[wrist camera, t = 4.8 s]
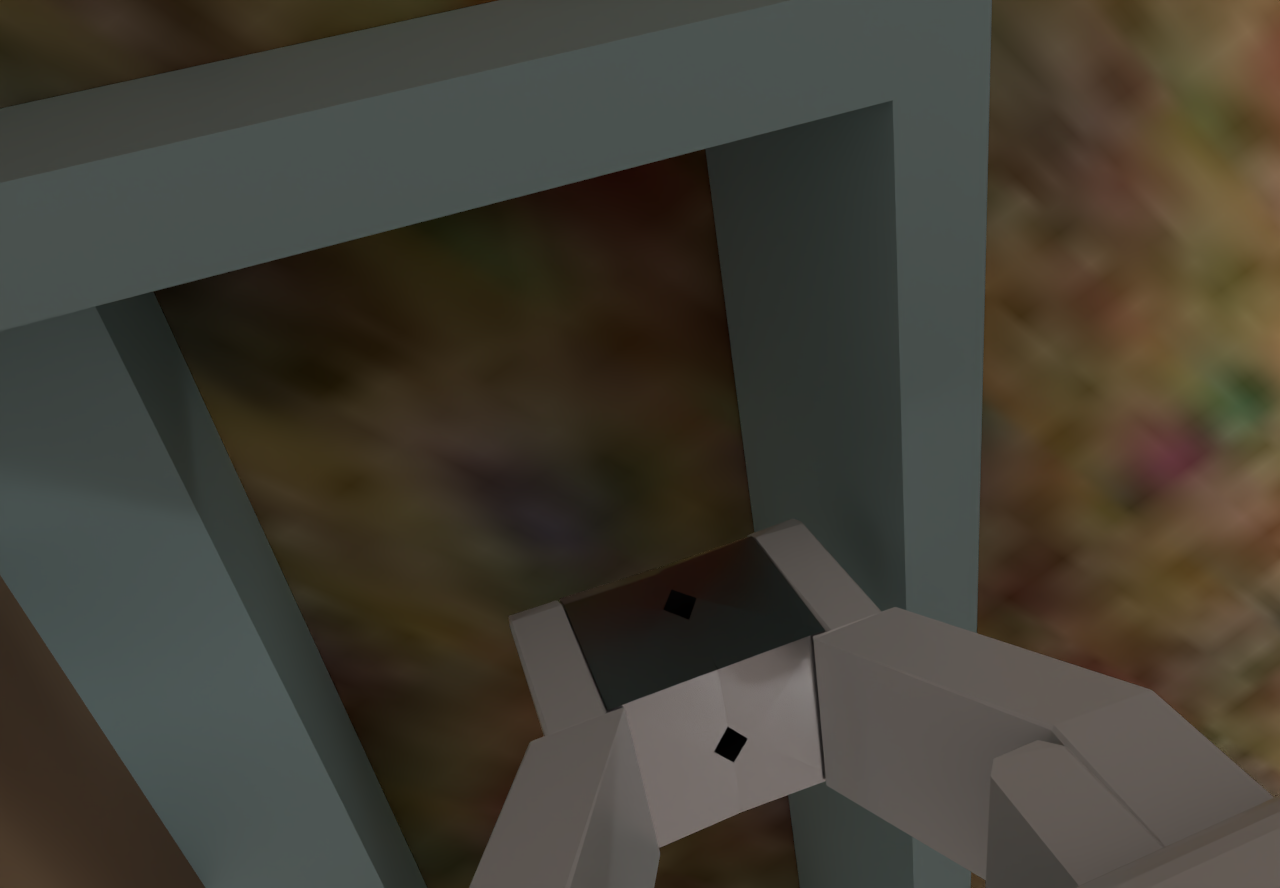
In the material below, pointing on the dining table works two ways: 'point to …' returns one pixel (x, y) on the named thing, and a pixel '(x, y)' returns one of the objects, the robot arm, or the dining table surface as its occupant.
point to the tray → (435, 187)
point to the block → (68, 783)
